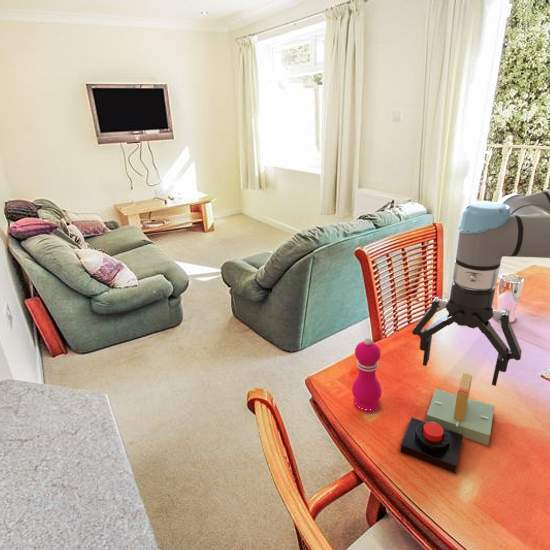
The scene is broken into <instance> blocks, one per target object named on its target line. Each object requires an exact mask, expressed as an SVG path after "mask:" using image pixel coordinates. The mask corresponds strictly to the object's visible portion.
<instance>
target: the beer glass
mask: <svg viewBox="0 0 550 550" xmlns="http://www.w3.org/2000/svg"><path fill="white" fill-rule="evenodd" d="M524 284H525V278H524V277H523V276H521V275H518V274H513V273H504V274H501V275H500V276H499V281H498V285H497V291H496V301H497V303H496V304H497V305H496V310H495V311H503V310H505V309H507V310H509V312H510V315H509V321H510V324H511V323H514V322H515V320H516V310H517V307H518V305H519V303H520V300H521V298H522V295H523V292H524ZM494 319H495V320H496V318H494Z"/></svg>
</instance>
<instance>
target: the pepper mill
mask: <svg viewBox="0 0 550 550" xmlns="http://www.w3.org/2000/svg"><path fill="white" fill-rule="evenodd" d="M381 353H382V352H381V348H380V347H379V345H378V344H377V343H375V342H374V341H372V338H371V337H368V336H367V337H365V338H364V339H363V341H362V340H361V342H359V343H357V345H356V346H355V348H354V356H355V358H356V367H357V368H358V374H357V376H355V377H356V378H355V379H354V381H353V383H352V386H351V387H352V388H351V393H352V396H353V405H354V407H355V408H356V409H357V410H359V411H360V412H363V413H373V412H375V411H377V410H378V408H379V406H380V398H381V396H382V386H381V383H380V381H379V379H378V377H377V374H376V371H377V369H378V368H379V360H380V359H381ZM355 403H356V404H355ZM358 406H359V407H360V408H359V407H358ZM361 408H363V409H361ZM365 409H367V410H365ZM370 409H371V410H370Z"/></svg>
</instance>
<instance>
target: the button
mask: <svg viewBox="0 0 550 550" xmlns="http://www.w3.org/2000/svg"><path fill="white" fill-rule="evenodd" d="M443 433H444V430H443V428H442V427H441V426H440V425H439V424H437V423H435V422H427V423H426V424H425V425H424V428H423V435H424V437H425V438H426V439H427V440H429V441H431V442H440V441H441V440H442V439H443Z"/></svg>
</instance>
